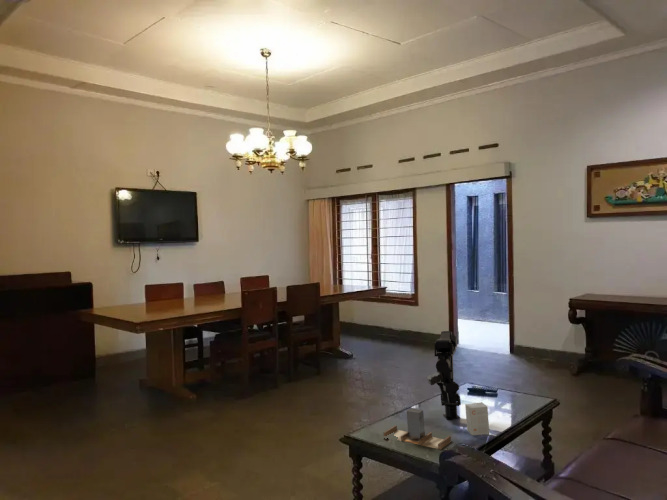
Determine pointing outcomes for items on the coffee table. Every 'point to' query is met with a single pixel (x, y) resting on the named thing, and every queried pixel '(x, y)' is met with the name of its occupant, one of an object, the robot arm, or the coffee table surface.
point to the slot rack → (424, 441)
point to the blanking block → (415, 424)
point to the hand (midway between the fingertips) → (447, 400)
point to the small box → (477, 418)
